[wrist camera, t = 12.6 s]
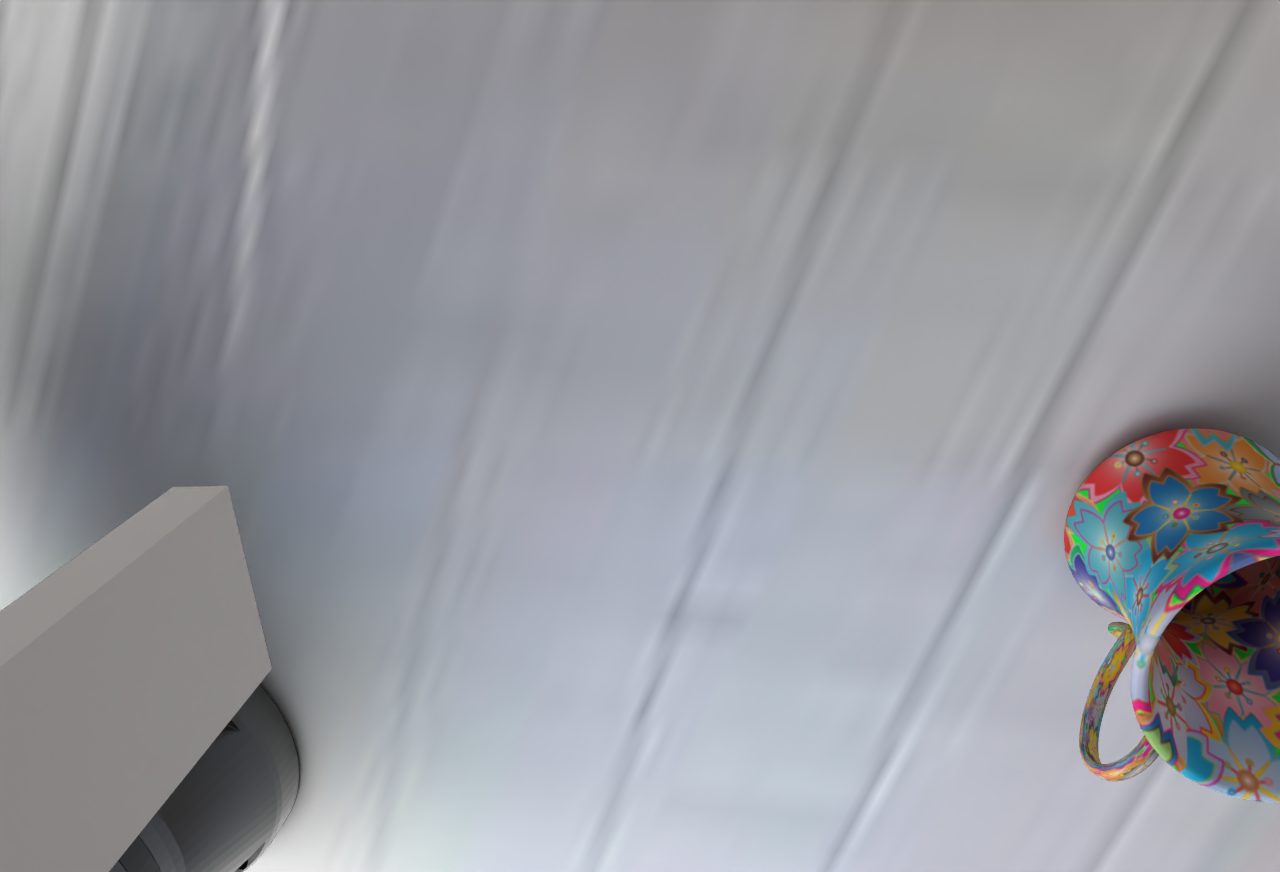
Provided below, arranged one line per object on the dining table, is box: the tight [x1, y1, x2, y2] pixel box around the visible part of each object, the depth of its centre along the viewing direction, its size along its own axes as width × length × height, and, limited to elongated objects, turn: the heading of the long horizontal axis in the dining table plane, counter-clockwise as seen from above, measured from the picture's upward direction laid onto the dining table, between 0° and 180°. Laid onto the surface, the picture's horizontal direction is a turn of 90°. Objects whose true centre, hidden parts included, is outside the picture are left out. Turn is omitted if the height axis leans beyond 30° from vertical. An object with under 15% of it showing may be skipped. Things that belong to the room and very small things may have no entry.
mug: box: [1064, 428, 1280, 803], centre depth 34 cm, size 12×9×11 cm
